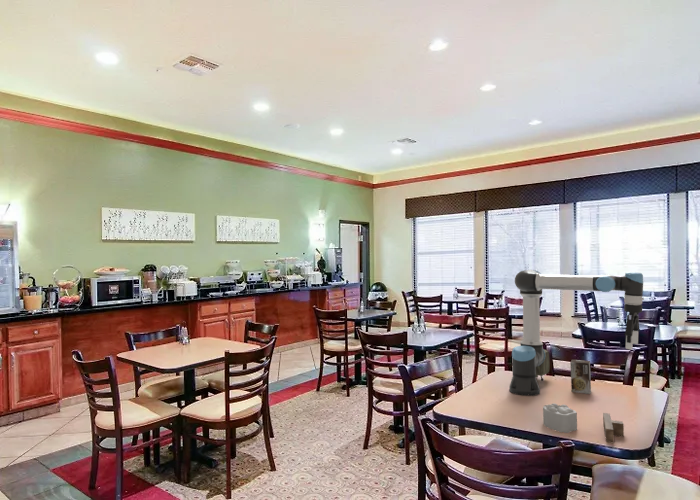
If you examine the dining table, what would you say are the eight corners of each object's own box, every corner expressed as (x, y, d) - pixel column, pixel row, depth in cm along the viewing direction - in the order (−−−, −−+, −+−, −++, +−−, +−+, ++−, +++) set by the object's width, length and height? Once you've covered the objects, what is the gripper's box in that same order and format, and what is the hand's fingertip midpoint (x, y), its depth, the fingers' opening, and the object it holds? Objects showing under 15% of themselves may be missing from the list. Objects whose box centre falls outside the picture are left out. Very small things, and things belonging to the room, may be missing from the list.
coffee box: (591, 391, 239) (590, 360, 239) (590, 394, 233) (589, 363, 234) (572, 388, 243) (571, 359, 244) (570, 391, 238) (570, 361, 238)
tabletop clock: (534, 376, 270) (533, 334, 271) (550, 378, 264) (549, 336, 265) (526, 381, 259) (525, 338, 260) (542, 384, 253) (542, 339, 254)
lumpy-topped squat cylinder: (564, 434, 180) (563, 412, 181) (537, 423, 192) (536, 403, 192) (580, 429, 185) (580, 408, 186) (553, 419, 197) (552, 399, 197)
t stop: (606, 441, 172) (605, 428, 172) (603, 424, 190) (603, 412, 190) (625, 444, 169) (625, 431, 169) (621, 427, 187) (620, 415, 187)
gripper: (637, 308, 209) (635, 352, 210) (646, 301, 227) (645, 342, 228) (618, 306, 214) (617, 349, 215) (629, 299, 232) (628, 340, 233)
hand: (631, 346), depth 221 cm, fingers open, 13 cm apart
